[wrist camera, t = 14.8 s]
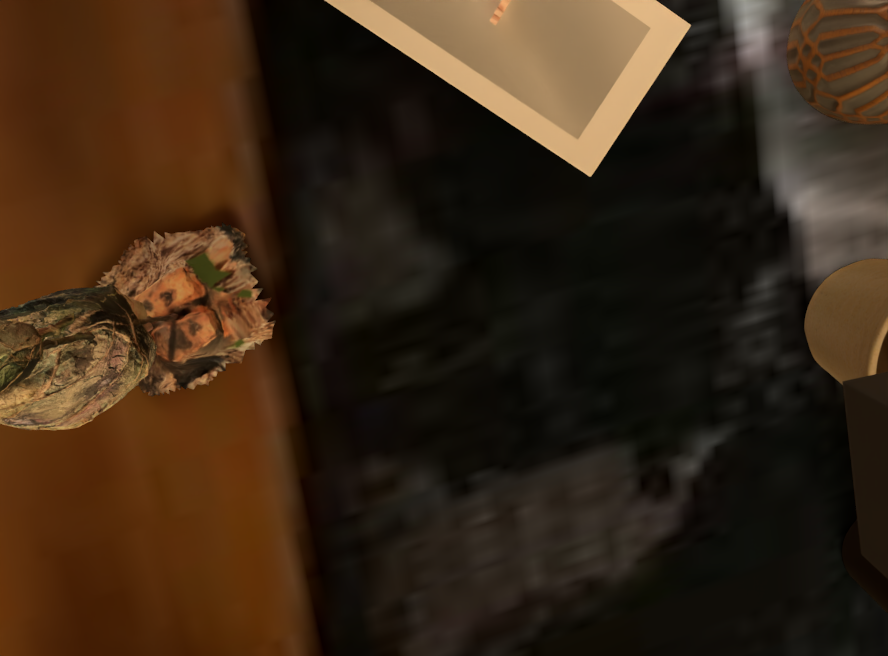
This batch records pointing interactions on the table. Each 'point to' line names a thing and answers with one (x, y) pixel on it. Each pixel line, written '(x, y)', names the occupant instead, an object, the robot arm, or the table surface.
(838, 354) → the flower pot
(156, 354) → the shaggy mottled figurine
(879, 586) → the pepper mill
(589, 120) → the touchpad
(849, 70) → the vase
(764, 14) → the table surface
